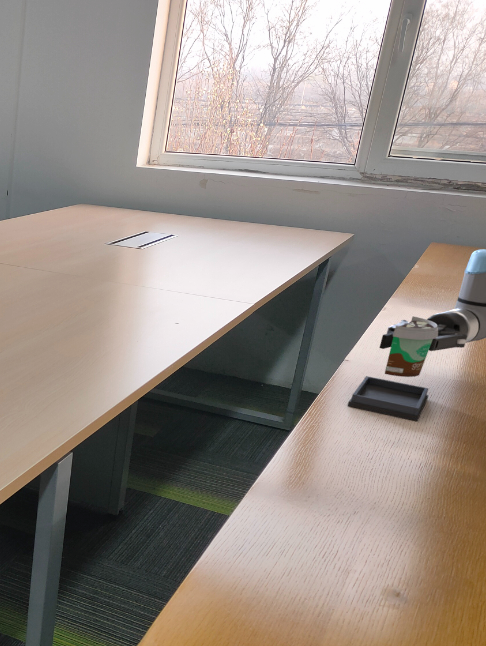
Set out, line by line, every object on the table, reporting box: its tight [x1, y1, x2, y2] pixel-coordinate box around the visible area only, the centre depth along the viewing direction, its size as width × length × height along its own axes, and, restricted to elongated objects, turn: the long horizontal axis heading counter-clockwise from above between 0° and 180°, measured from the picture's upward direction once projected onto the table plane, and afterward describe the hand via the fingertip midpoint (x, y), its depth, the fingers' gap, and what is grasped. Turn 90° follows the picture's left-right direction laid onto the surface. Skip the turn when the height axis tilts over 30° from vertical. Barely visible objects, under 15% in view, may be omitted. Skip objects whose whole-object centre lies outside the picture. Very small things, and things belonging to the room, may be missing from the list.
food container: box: [384, 316, 438, 378], centre depth 158 cm, size 12×6×10 cm, turn 136°
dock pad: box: [347, 375, 429, 422], centre depth 164 cm, size 12×16×2 cm
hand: (390, 343), depth 156 cm, fingers closed on food container, 2 cm apart
